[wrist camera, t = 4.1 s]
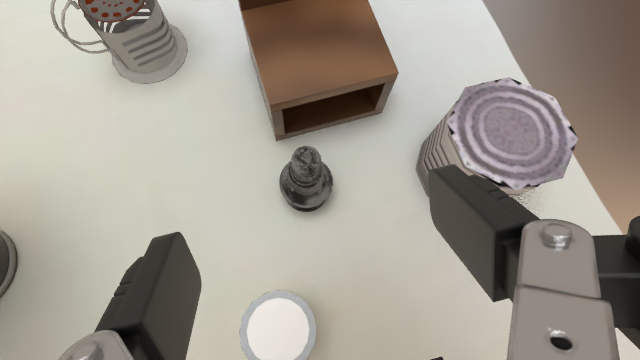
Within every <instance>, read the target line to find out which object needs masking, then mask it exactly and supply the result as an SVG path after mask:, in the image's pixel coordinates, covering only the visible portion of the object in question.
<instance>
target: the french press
mask: <svg viewBox="0 0 640 360" xmlns="http://www.w3.org/2000/svg"><path fill="white" fill-rule="evenodd" d="M55 1H56V0H52V2H51V12H50V13H51V17H52V21H53V23H54V25H55V28H56V29H57V30H58V31H59V32H60V33H61V34H62V35H63V36H64V37H65V38H66V39H68V40H69V41H70V42H71V43H72V44H73V45H74V46H75V47H77V48H78V49H80V50H81V51H84V52H87V53H103V52H107V51H110V53H111V54H112V61H113V65H114V67H115V68H116V70H117V71H118V72H119V74H120V75H121V76H123V77H125V78H127V79H128V80H130V81H132V82H138V83H145V84H148V83H153V82H158V81H162V80H164V79H166V78H168V77H169V76H171V75H173V74H175V73H176V71H177V70H178V69H179V68H180V67H181V65H182V64H183V63H184V60H185V57H186V54H187V45H186V39H185V37H184V36H183V35H182V33H181V32H180V31H179V29H177V28H176V27H174V26H172V25H170V24H169V23H168V21H167V19H166V17H165V15H164V13H163V11H162V9H161V7H160V5H159V3H158V2H157V0H78V3H79V6H80V7H79V6H78V5H77V3H76V2H75V1H72V0H68V2H67V3H66V5H65V7H64V9H63V11H62V18H61V24H62V28H63V31H64V32H63V31H62V30H61V29H59V27H58V24H57V22H56V20H55V15H54V3H55ZM144 3H146V5H144ZM70 4H72V5H73V6H74V7H75V8H77V9H80V8H81V9H82V11H83V12H84V17H85V18H86V19H87V21H88V22H89V24H90V25H91V26H92V27H93V28H94V30H95V31H96V32H97V33H98V35H99V36H100V37H101V38H102V40H103V41H102V40H100V41H94V42H89V43H80V42H78V41H75V40H72V39H70V37H69V36H68V34H67V31H66V29H65V26H64V20H65V11H66V10H67V8H68V6H69V5H70ZM140 9H149V10H150V12H138V11H139V10H140ZM132 16H150V17H149V18H148V19H131V20H126V19H128V18H130V17H132ZM98 21H101V24H100V27H99V25H98ZM118 21H120V22H119V23H117V24H116V25H115V26H114V29H113V31H112V33H109V30H110V28H111V25H112V22H118ZM104 22H108V24H107V27H106V32H104ZM75 43H76V44H79V45H92V44H96V43H103V44H104V45H105V47H106V48H107V49H105V50H101V51H88V50H85V49H82V48H81V47H79V46H77V45H76V44H75Z"/></svg>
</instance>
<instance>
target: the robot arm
mask: <svg viewBox="0 0 640 360" xmlns="http://www.w3.org/2000/svg"><path fill="white" fill-rule="evenodd" d="M428 182H429V197H430V211H431V216H432V220H433V223H434V225H435V227H436V229H437V230H438V231H439V233H440V234H441V235H442V237H443V238H444V239H445V240H446V242H447V243H448V244H449V246H450V247H451V248H452V249H453V251H454V252H455V253H456V255H457V256H458V257H459V258H460V260H461V261H462V262H463V264H464V265H465V266H466V267H467V269H468V270H469V271H470V273H471V274H472V275H473V276H474V278H475V279H476V280H477V282H478V283H479V284H480V285H481V287H482V288H483V289H484V291H485V292H486V293H487V294H488V296H489V297H490V298H491V300H492V301H493V302H496V301H500V300H504V299H507V298H509V299H510V300H511V301H512V302H513V309H512V318H511V327H510V336H509V344H508V353H507V360H620V358H619V352H618V346H617V339H616V333H615V328H618V329H619V330H620V331H621V332H622V333H623V334H624V335H625V336H626V337H627V338H628V339H629V340H630V341H631V342H632V343H634V344H635V345H636V346H637V347H638V348H639V349H640V216H638V217H635V218H634V219H632V220H631V222H630V224H629V228H628V233H627V235H603V236H591V234H590V233H589V232H588V231H586V230H585V229H584V228H582V227H580V226H578V225H576V224H574V223H571V222H567V221H563V220H557V219H539V218H538V217H537V216H535V215H534V214H533V213H531V212H530V211H529V210H528V209H526V208H525V207H524V206H522V205H521V204H520V203H518V202H517V201H516V200H515V199H513V198H512V197H509V195H508V194H507V193H505V192H504V191H503V190H500V188H499V187H498V186H496V185H495V184H494V183H492V182H491V181H490V180H488V179H485V178H482V177H479V176H477V175H474V174H473V175H469V176H468V175H467V174H466V173H465V172H463V171H462V170H461V169H460V168H459V167H457V166H456V165H455V164H450V165H446V166H442V167H438V168H434V169H430V170H429V173H428ZM15 268H16V251H15V247H14V245H13V243H12V241H11V239H10V238H9V237H8V236H7V235H6V234H5V233H3V232H2V231H0V296H1V295H2V294H3V293H4V291H5V290H6V289H7V287H8V285H9V284H10V282H11V280H12V278H13V275H14V272H15ZM200 292H201V276H200V272H199V270H198V267H197V265H196V263H195V261H194V259H193V256H192V254H191V252H190V250H189V248H188V245H187V243H186V241H185V239H184V237H183V235H182V234H181V233H180V232H175V233H171V234H167V235H163V236H159V237H155V238H153V239H152V241H151V243H150V245H149V247H148V249H147V251H146V253H145V255H144V257H140V258H138V259H137V260H136V261H135V262H134V263H133V264H132V265H131V266H130V267H129V269H128V270H127V271H126V272H125V274H124V276H123V278H122V280H121V282H120V286H118V288H117V290H116V291H115V293H114V297H112V299H111V301H110V303H109V305H108V307H107V309H106V311H105V312H104V314H103V316H102V318H101V320H100V322H99V324H98V326H97V328H96V330H95V332H94V333H92V334H90V335H88V336H86V337H84V338H82V339H81V340H79V341H78V342H76V343H75V344H74V345H72V346H71V347H70V348H69V349H68V350H67V351H66V352H65V353H64V354H63V355H62V356H61V357H60V358H59V360H185V359H186V354H187V350H188V346H189V341H190V337H191V332H192V328H193V323H194V319H195V314H196V310H197V305H198V301H199V297H200ZM431 360H443V358H442V357H439V358H435V359H431Z"/></svg>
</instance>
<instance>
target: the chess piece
mask: <svg viewBox="0 0 640 360" xmlns="http://www.w3.org/2000/svg"><path fill="white" fill-rule="evenodd" d="M332 185H333V179H332V175H331V172H330V170H329V169H328V167H327V166H326V165H325V164H324V163H323V162H322V161H321V157H320V154H319V153H318V151H317V150H316V149H314V148H312V147H309V146H303V147H300V148H298V149H297V150H296V151H295V152H294V154H293V155H292V159H291V161H290V162H289V163H288V164H287V165H286V166H285V167H284V169H283V170H282V172H281V175H280V189H281V192H282V194H283V196H284V197H285V199H286V200H287V202H288V204H289V205H291V206H292V207H293V208H294V209H296V210H298V211H303V212H310V211H313V210H316V209H318V208H319V207H321V206H322V204H323V203H324V202H325V200H326V199H327V198H328V196H329V194H330V192H331V190H332Z"/></svg>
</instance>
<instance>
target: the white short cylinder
mask: <svg viewBox="0 0 640 360" xmlns="http://www.w3.org/2000/svg"><path fill="white" fill-rule="evenodd" d="M316 331H317V328H316V323H315V318H314V314H313V312H312V311H311V309H310V308H309V306H308V305H307V303H306V301H304V300H303V299H301V298H300V297H298V296H297V295H295V294H294V293H291V292H286V291H280V290H277V291H273V292H269V293H264V294H263V295H261V296H260V297H259V298H257V299H256V300H254V301H253V302H252V303H251V304H250V306H249V307H248V309H247V310H246V312H245V313H244V315H243V317H242V321H241V326H240V330H239V334H240V341H241V347H242V350H243V351H244V353H245V355H246V356H247V358H248V360H306V359H307V357H308V355H309V354H310V352H311V350H312V348H313V347H314V344H315V338H316Z"/></svg>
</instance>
